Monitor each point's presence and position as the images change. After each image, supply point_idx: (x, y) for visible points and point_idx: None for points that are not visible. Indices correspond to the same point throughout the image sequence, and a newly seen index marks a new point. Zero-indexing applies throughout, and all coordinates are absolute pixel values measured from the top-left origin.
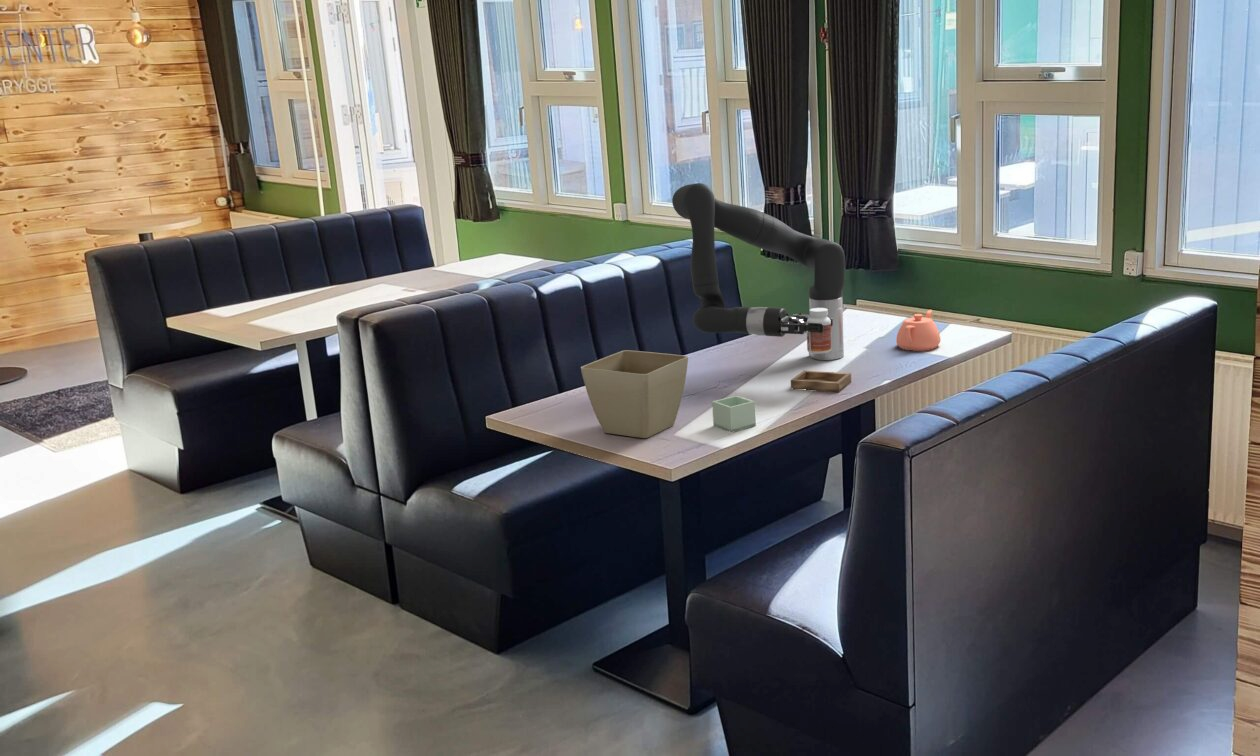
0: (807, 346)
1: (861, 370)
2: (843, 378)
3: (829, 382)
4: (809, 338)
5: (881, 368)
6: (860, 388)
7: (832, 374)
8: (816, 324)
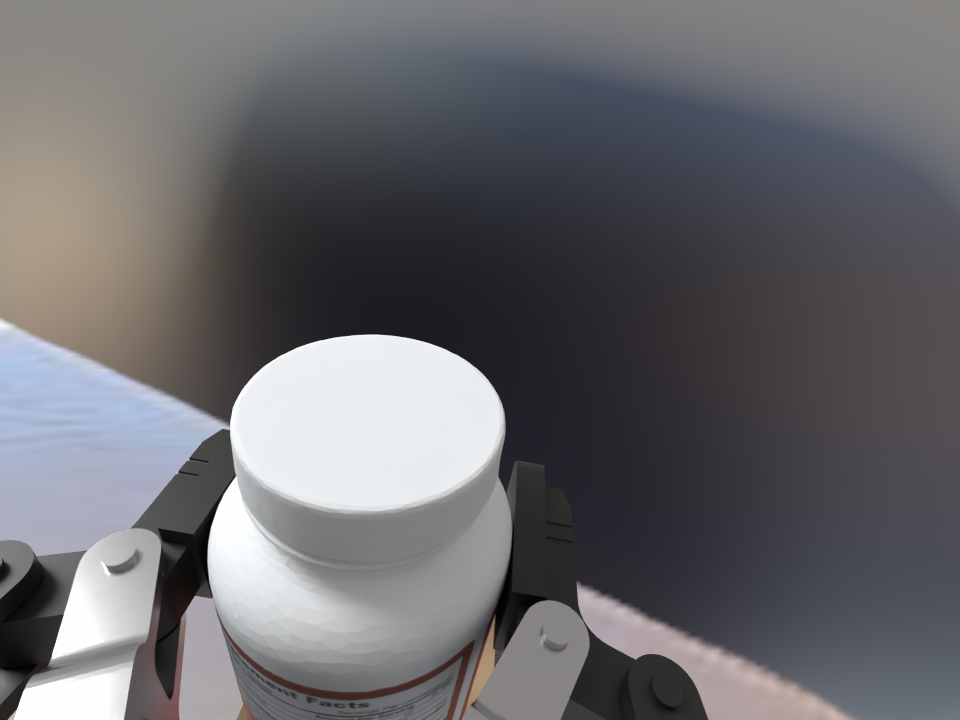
0: None
1: None
2: None
3: (487, 665)
4: (457, 706)
5: (63, 498)
6: None
7: None
8: (543, 517)
